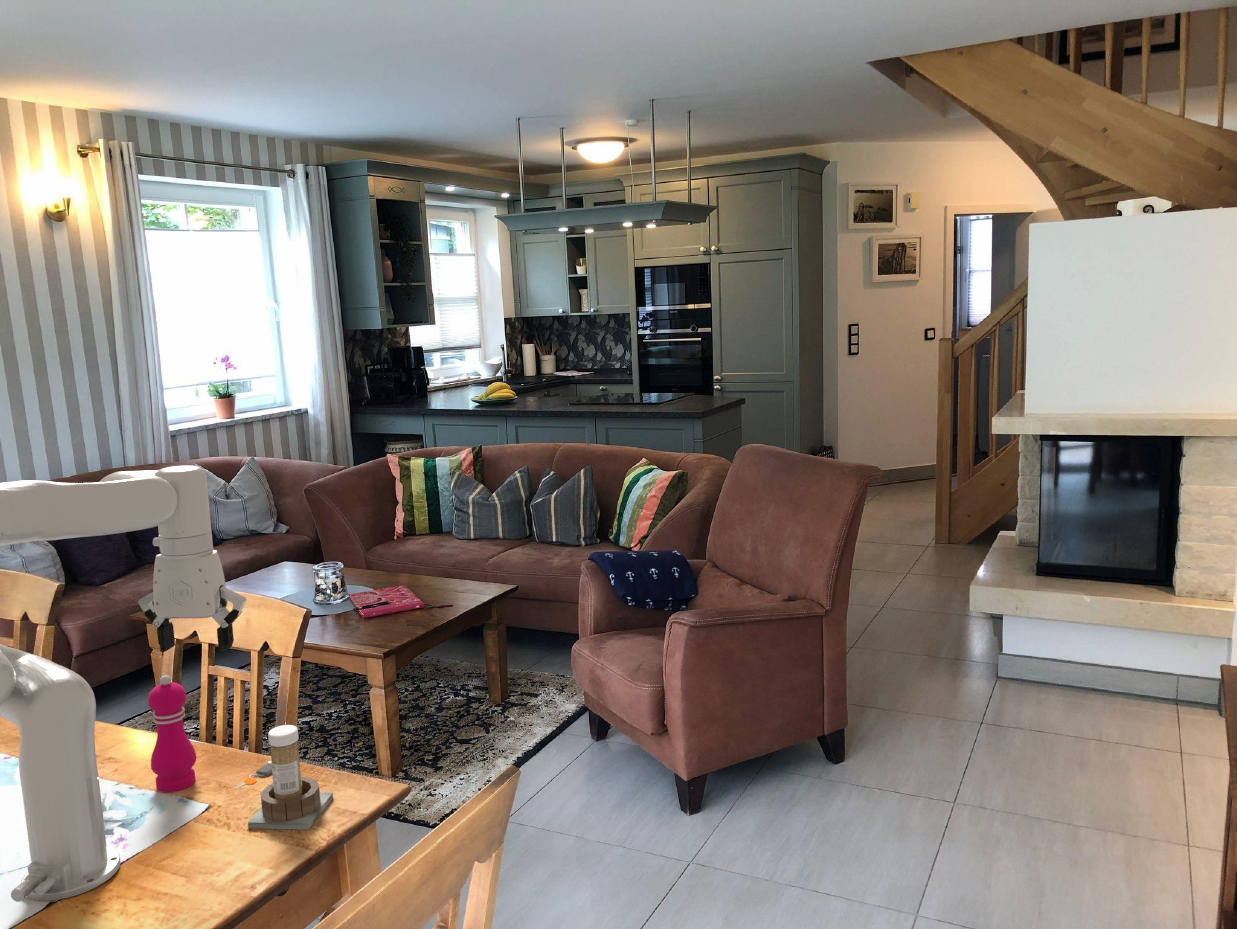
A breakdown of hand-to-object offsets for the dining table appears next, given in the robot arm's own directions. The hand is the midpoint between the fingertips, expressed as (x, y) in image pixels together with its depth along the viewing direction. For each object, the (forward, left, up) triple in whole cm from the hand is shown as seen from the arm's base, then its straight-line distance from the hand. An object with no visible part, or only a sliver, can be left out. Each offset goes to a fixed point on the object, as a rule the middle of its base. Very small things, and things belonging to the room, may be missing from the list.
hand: (196, 649), depth 151 cm
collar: (+1, -13, -28) cm, 31 cm away
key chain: (+13, -1, -29) cm, 32 cm away
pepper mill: (+10, +12, -28) cm, 32 cm away
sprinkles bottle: (+1, -13, -28) cm, 30 cm away
